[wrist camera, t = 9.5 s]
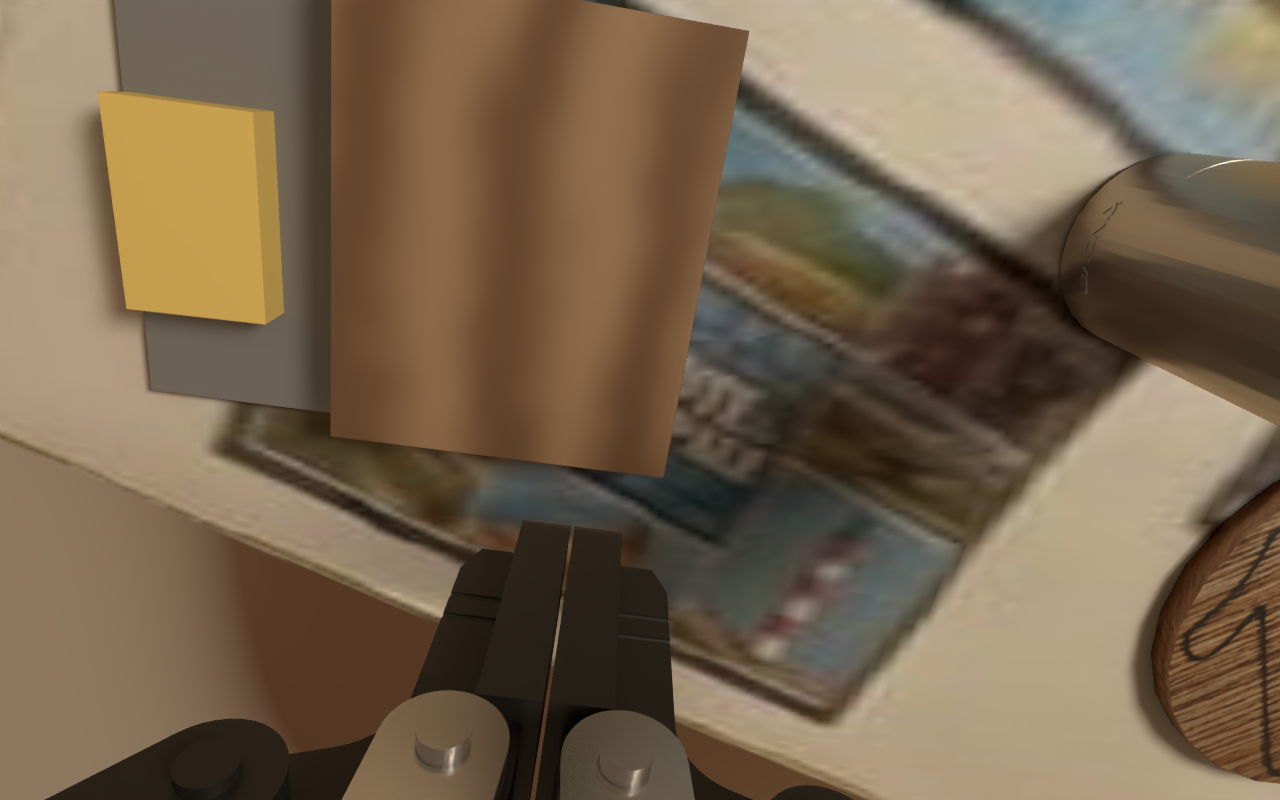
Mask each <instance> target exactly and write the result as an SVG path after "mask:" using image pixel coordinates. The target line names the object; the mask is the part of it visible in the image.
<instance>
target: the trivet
mask: <svg viewBox="0 0 1280 800" xmlns="http://www.w3.org/2000/svg"><path fill="white" fill-rule="evenodd" d="M1151 660H1152V669H1153V678H1154V687H1155V693H1156V695H1157V696H1158V698H1159V700H1160V702H1161V704H1162V706H1163V707H1164V709H1165V711H1166V713H1167V715H1168V717H1169V718H1170V720H1171V722H1172V724H1173V725H1174V726H1175V727H1176V728H1177V729H1178V730H1179V732H1180V733H1181V734H1182V735H1183V736H1184V737H1185V738H1186V739H1187V740H1188V742H1189V743H1190V744H1192V745H1193V746H1194V747H1195V748H1197V749H1198V750H1199V751H1200V752H1201V753H1203V754H1204V755H1205V756H1206V757H1207V758H1209V759H1210V760H1211V761H1212V762H1213V763H1215V764H1216V765H1217V766H1219V767H1221V768H1224V769H1226V770H1229V771H1232V772H1234V773H1237V774H1239V775H1242V776H1245V777H1247V778H1250V779H1252V780H1255V781H1262V782H1271V783H1279V784H1280V480H1278V481H1276V482H1274V483H1273V484H1271V485H1270V486H1269V487H1268V488H1266V489H1265V490H1264V491H1262V492H1261V493H1260V494H1259V495H1257V496H1256V497H1255V498H1253V499H1252V500H1251V501H1250V502H1248V503H1247V504H1246V505H1244V506H1243V507H1242V508H1241V509H1239V510H1238V511H1237V512H1235V513H1234V514H1233V515H1232V516H1230V517H1229V518H1228V519H1226V520H1225V521H1224V522H1223V523H1222V524H1221V525H1220V526H1219V528H1218V529H1217V530H1216V531H1215V532H1214V533H1213V534H1212V536H1211V537H1210V538H1209V539H1208V540H1207V541H1206V542H1205V544H1204V545H1203V546H1202V547H1201V548H1200V549H1199V550H1198V552H1197V553H1196V554H1195V555H1194V556H1193V557H1192V558H1191V560H1190V561H1189V562H1188V563H1187V564H1186V565H1185V567H1184V569H1183V571H1182V572H1181V574H1180V576H1179V578H1178V580H1177V582H1176V583H1175V585H1174V587H1173V589H1172V591H1171V593H1170V594H1169V596H1168V598H1167V600H1166V602H1165V604H1164V606H1163V607H1162V609H1161V611H1160V616H1159V620H1158V624H1157V629H1156V633H1155V638H1154V642H1153V646H1152V651H1151Z"/></svg>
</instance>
